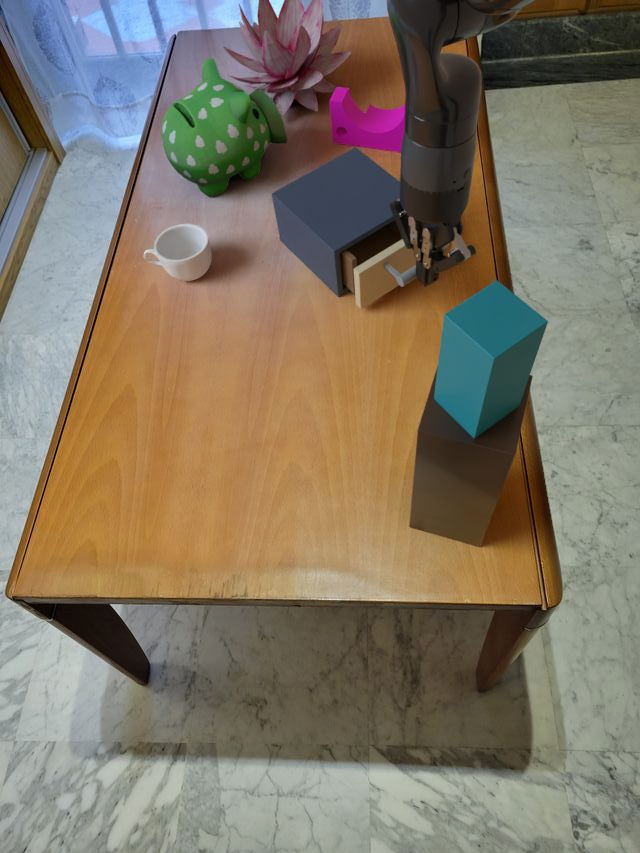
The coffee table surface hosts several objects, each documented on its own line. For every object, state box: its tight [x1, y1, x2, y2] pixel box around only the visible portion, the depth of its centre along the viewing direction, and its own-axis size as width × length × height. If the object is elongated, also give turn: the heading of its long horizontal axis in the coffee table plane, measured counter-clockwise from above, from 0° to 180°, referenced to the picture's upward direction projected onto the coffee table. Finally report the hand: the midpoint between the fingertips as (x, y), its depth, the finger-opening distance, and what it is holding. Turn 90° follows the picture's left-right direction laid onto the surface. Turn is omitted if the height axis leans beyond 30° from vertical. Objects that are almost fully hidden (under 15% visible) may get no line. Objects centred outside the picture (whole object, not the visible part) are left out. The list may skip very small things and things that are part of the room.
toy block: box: [329, 86, 405, 153], centre depth 103 cm, size 15×6×8 cm, turn 71°
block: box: [434, 279, 549, 438], centre depth 49 cm, size 5×5×11 cm
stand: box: [408, 365, 533, 548], centre depth 63 cm, size 8×8×22 cm
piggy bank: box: [160, 57, 288, 198], centre depth 99 cm, size 14×18×15 cm
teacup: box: [143, 223, 213, 282], centre depth 92 cm, size 10×8×5 cm
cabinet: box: [271, 146, 400, 298], centre depth 91 cm, size 15×15×9 cm
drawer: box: [340, 220, 417, 310], centre depth 87 cm, size 18×14×7 cm
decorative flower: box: [223, 0, 352, 117], centre depth 108 cm, size 21×21×15 cm
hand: (426, 280), depth 81 cm, fingers closed
